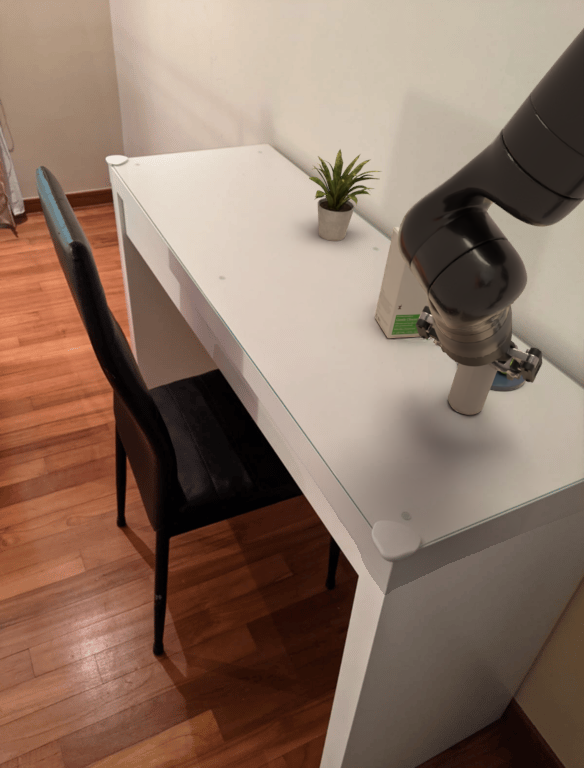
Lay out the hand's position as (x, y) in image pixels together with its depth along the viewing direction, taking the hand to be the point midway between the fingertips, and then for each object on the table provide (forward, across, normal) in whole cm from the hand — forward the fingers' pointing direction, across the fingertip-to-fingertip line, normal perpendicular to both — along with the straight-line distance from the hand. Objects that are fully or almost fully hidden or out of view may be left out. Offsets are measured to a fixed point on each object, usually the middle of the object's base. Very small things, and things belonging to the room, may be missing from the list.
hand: (480, 358), depth 77 cm
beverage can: (+7, 0, +5) cm, 9 cm away
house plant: (+29, +40, -16) cm, 52 cm away
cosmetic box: (+16, +15, -3) cm, 22 cm away
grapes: (+14, 0, -2) cm, 14 cm away
